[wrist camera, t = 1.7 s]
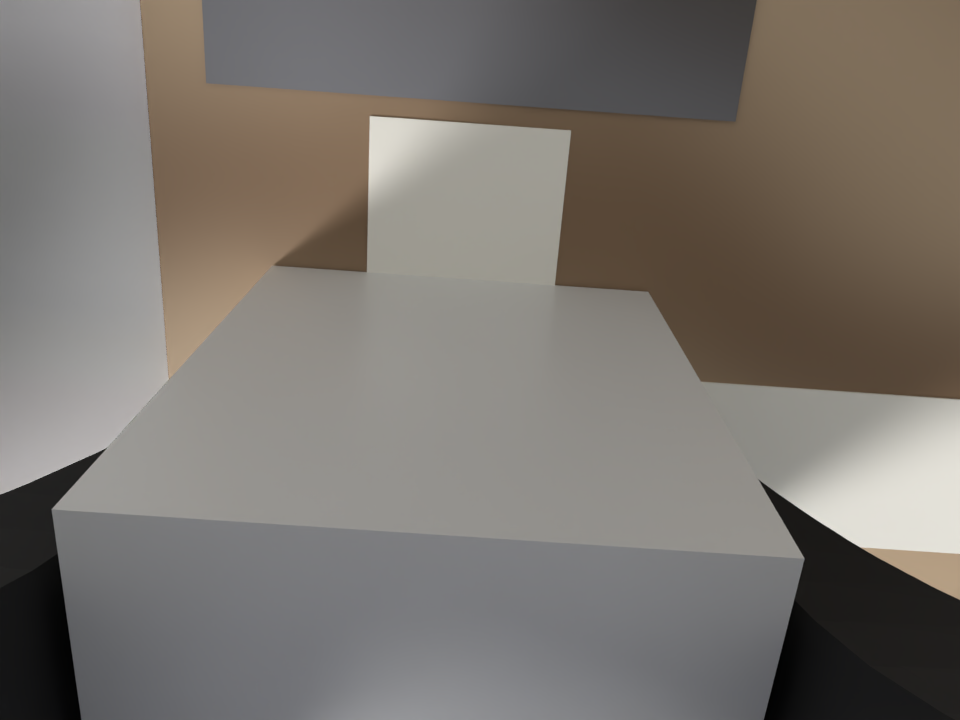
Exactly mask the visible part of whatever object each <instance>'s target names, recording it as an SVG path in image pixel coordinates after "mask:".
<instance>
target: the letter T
mask: <svg viewBox="0 0 960 720" xmlns="http://www.w3.org/2000/svg"><path fill="white" fill-rule="evenodd" d="M570 137H571V130H559V129H545V128H531V127H517V126H503V125H489V124H476V123H462V122H448V121H434V120H420V119H406V118H393V117H379V116H370V130H369V183H368V236H367V272H372V273H386V274H400V275H415V276H429V277H443V278H458V279H472V280H486V281H501V282H515V283H530V284H544V285H555V279H556V269H557V260H558V250H559V241H560V231H561V222H562V213H563V203H564V194H565V184H566V175H567V165H568V156H569V147H570ZM701 383H702V384H703V386H704V388H705V389H706V391H707V393H708V395H709V396H710V398H711V400H712V401H713V403H714V405H715V406H716V408H717V410H718V412H719V413H720V415H721V417H722V418H723V420H724V422H725V424H726V425H727V427H728V429H729V430H730V432H731V434H732V436H733V437H734V439H735V441H736V442H737V444H738V446H739V447H740V449H741V451H742V453H743V454H744V456H745V458H746V459H747V461H748V463H749V465H750V466H751V468H752V470H753V471H754V473H755V475H756V477H757V478H758V480H760V481H761V482H762V483H764V484H765V485H767V486H768V487H769V488H771V489H772V490H774V491H775V492H776V493H778V494H779V495H781V496H782V497H783V498H785V499H786V500H788V501H789V502H791V503H792V504H793V505H795V506H796V507H798V508H799V509H801V510H802V511H804V512H805V513H807V514H808V515H810V516H811V517H813V518H814V519H816V520H817V521H819V522H820V523H822V524H824V525H825V526H827V527H828V528H830V529H831V530H833V531H835V532H836V533H838V534H839V535H841V536H842V537H844V538H846V539H847V540H849V541H850V542H852V543H854V544H855V545H857V546H859V547H862V548H878V549H893V550H908V551H923V552H939V553H954V554H960V399H949V398H934V397H919V396H905V395H890V394H876V393H861V392H846V391H832V390H817V389H802V388H788V387H773V386H758V385H744V384H729V383H714V382H701Z"/></svg>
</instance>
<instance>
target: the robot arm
mask: <svg viewBox="0 0 960 720" xmlns="http://www.w3.org/2000/svg"><path fill="white" fill-rule="evenodd" d="M106 449H107V448H106ZM106 449H104V450H102V451H100V452H98V453H96V454H94V455H91V456H89V457H87V458H85V459H82V460H80V461H78V462H76V463H73V464H71V465H69V466H67V467H64V468H62V469H60V470H58V471H56V472H53V473H51V474H49V475H47V476H44V477H42V478H40V479H38V480H35V481H33V482H31V483H29V484H26V485H24V486H21V487H19V488H16V489H14V490H11V491H9V492H6V493H4V494H1V495H0V720H81V713H80V706H79V699H78V692H77V685H76V678H75V671H74V664H73V657H72V650H71V643H70V636H69V629H68V622H67V615H66V608H65V601H64V594H63V586H62V579H61V572H60V565H59V558H58V551H57V544H56V537H55V530H54V523H53V516H52V508H53V507H54V506H55V505H56V504H57V503H58V502H59V501H60V500H61V498H62V497H63V496H64V495H65V494H66V493H67V492H68V491H69V490H70V489H71V487H72V486H73V485H74V484H75V483H76V482H77V481H78V480H79V479H80V477H81V476H82V475H83V474H84V473H85V472H86V471H87V470H88V469H89V468H90V466H91V465H92V464H93V463H94V462H95V461H96V460H97V459H98V458H99V457H100V455H101V454H102V453H103V452H104V451H105V450H106ZM759 482H760V483H761V485H762V487H763V488H764V490H765V492H766V494H767V495H768V497H769V499H770V500H771V502H772V504H773V506H774V507H775V509H776V511H777V512H778V514H779V516H780V518H781V519H782V521H783V523H784V524H785V526H786V528H787V529H788V531H789V533H790V535H791V536H792V538H793V540H794V541H795V543H796V545H797V547H798V548H799V550H800V552H801V553H802V555H803V557H804V563H803V567H802V571H801V575H800V579H799V583H798V587H797V591H796V595H795V599H794V603H793V606H792V610H791V614H790V618H789V622H788V626H787V630H786V634H785V638H784V642H783V646H782V650H781V654H780V658H779V662H778V666H777V669H776V673H775V677H774V681H773V685H772V689H771V693H770V697H769V701H768V705H767V709H766V713H765V717H764V720H960V600H959V599H957V598H955V597H953V596H951V595H949V594H946V593H944V592H942V591H940V590H938V589H936V588H934V587H932V586H930V585H928V584H926V583H924V582H923V581H921V580H919V579H917V578H915V577H913V576H911V575H909V574H907V573H906V572H904V571H902V570H900V569H898V568H896V567H894V566H892V565H890V564H889V563H887V562H885V561H883V560H881V559H879V558H878V557H876V556H874V555H872V554H871V553H869V552H867V551H865V550H864V549H862V548H860V547H859V546H857V545H855V544H854V543H852V542H850V541H849V540H847V539H846V538H844V537H842V536H841V535H839V534H838V533H836V532H835V531H833V530H831V529H830V528H828V527H827V526H825V525H824V524H822V523H820V522H819V521H817V520H816V519H814V518H813V517H811V516H810V515H808V514H807V513H805V512H804V511H802V510H801V509H799V508H798V507H796V506H795V505H793V504H792V503H791V502H789V501H788V500H786V499H785V498H783V497H782V496H781V495H779V494H778V493H776V492H775V491H774V490H772V489H771V488H769V487H768V486H767V485H765V484H764V483H762V482H761V481H760V480H759Z"/></svg>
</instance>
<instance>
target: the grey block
mask: <svg viewBox="0 0 960 720" xmlns="http://www.w3.org/2000/svg"><path fill="white" fill-rule="evenodd" d="M52 516H53V523H54V530H55V537H56V544H57V551H58V558H59V565H60V572H61V579H62V586H63V594H64V601H65V608H66V615H67V622H68V629H69V636H70V643H71V650H72V657H73V664H74V671H75V678H76V685H77V692H78V699H79V706H80V713H81V720H764V717H765V713H766V709H767V705H768V701H769V697H770V693H771V689H772V685H773V681H774V677H775V673H776V669H777V666H778V662H779V658H780V654H781V650H782V646H783V642H784V638H785V634H786V630H787V626H788V622H789V618H790V614H791V610H792V606H793V603H794V599H795V595H796V591H797V587H798V583H799V579H800V575H801V571H802V567H803V563H804V557H803V555H802V553H801V552H800V550H799V548H798V547H797V545H796V543H795V541H794V540H793V538H792V536H791V535H790V533H789V531H788V529H787V528H786V526H785V524H784V523H783V521H782V519H781V518H780V516H779V514H778V512H777V511H776V509H775V507H774V506H773V504H772V502H771V500H770V499H769V497H768V495H767V494H766V492H765V490H764V488H763V487H762V485H761V483H760V482H759V480H758V478H757V477H756V475H755V473H754V471H753V470H752V468H751V466H750V465H749V463H748V461H747V459H746V458H745V456H744V454H743V453H742V451H741V449H740V447H739V446H738V444H737V442H736V441H735V439H734V437H733V436H732V434H731V432H730V430H729V429H728V427H727V425H726V424H725V422H724V420H723V418H722V417H721V415H720V413H719V412H718V410H717V408H716V406H715V405H714V403H713V401H712V400H711V398H710V396H709V395H708V393H707V391H706V389H705V388H704V386H703V384H702V383H701V381H700V379H699V377H698V376H697V374H696V372H695V371H694V369H693V367H692V366H691V364H690V362H689V360H688V359H687V357H686V355H685V354H684V352H683V350H682V348H681V347H680V345H679V343H678V342H677V340H676V338H675V336H674V335H673V333H672V331H671V330H670V328H669V326H668V325H667V323H666V321H665V319H664V318H663V316H662V314H661V313H660V311H659V309H658V307H657V306H656V304H655V302H654V301H653V299H652V297H651V295H650V294H649V292H644V291H630V290H616V289H601V288H587V287H573V286H558V285H544V284H530V283H515V282H501V281H486V280H472V279H458V278H443V277H429V276H415V275H400V274H386V273H372V272H357V271H343V270H329V269H314V268H300V267H286V266H272V267H271V268H270V269H269V270H268V271H267V272H266V273H265V274H264V275H263V277H262V278H261V279H260V280H259V281H258V282H257V283H256V284H255V285H254V286H253V288H252V289H251V290H250V291H249V292H248V293H247V294H246V295H245V296H244V297H243V299H242V300H241V301H240V302H239V303H238V304H237V305H236V306H235V307H234V309H233V310H232V311H231V312H230V313H229V314H228V315H227V316H226V317H225V318H224V320H223V321H222V322H221V323H220V324H219V325H218V326H217V327H216V328H215V330H214V331H213V332H212V333H211V334H210V335H209V336H208V337H207V338H206V339H205V341H204V342H203V343H202V344H201V345H200V346H199V347H198V348H197V349H196V351H195V352H194V353H193V354H192V355H191V356H190V357H189V358H188V359H187V360H186V362H185V363H184V364H183V365H182V366H181V367H180V368H179V369H178V370H177V371H176V373H175V374H174V375H173V376H172V377H171V378H170V379H169V380H168V381H167V383H166V384H165V385H164V386H163V387H162V388H161V389H160V390H159V391H158V392H157V394H156V395H155V396H154V397H153V398H152V399H151V400H150V401H149V402H148V404H147V405H146V406H145V407H144V408H143V409H142V410H141V411H140V412H139V413H138V415H137V416H136V417H135V418H134V419H133V420H132V421H131V422H130V423H129V424H128V426H127V427H126V428H125V429H124V430H123V431H122V432H121V433H120V434H119V436H118V437H117V438H116V439H115V440H114V441H113V442H112V443H111V444H110V445H109V447H108V448H107V449H106V450H105V451H104V452H103V453H102V454H101V455H100V457H99V458H98V459H97V460H96V461H95V462H94V463H93V464H92V465H91V466H90V468H89V469H88V470H87V471H86V472H85V473H84V474H83V475H82V476H81V477H80V479H79V480H78V481H77V482H76V483H75V484H74V485H73V486H72V487H71V489H70V490H69V491H68V492H67V493H66V494H65V495H64V496H63V497H62V498H61V500H60V501H59V502H58V503H57V504H56V505H55V506H54V507H53V508H52Z"/></svg>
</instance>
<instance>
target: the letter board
mask: <svg viewBox="0 0 960 720" xmlns="http://www.w3.org/2000/svg"><path fill="white" fill-rule="evenodd" d="M140 7H141V20H142V33H143V46H144V59H145V72H146V86H147V99H148V112H149V125H150V138H151V151H152V164H153V178H154V191H155V204H156V217H157V230H158V243H159V256H160V270H161V283H162V296H163V309H164V322H165V335H166V348H167V362H168V375H169V379H170V378H171V377H172V376H173V375H174V374H175V373H176V371H177V370H178V369H179V368H180V367H181V366H182V365H183V364H184V363H185V362H186V360H187V359H188V358H189V357H190V356H191V355H192V354H193V353H194V352H195V351H196V349H197V348H198V347H199V346H200V345H201V344H202V343H203V342H204V341H205V339H206V338H207V337H208V336H209V335H210V334H211V333H212V332H213V331H214V330H215V328H216V327H217V326H218V325H219V324H220V323H221V322H222V321H223V320H224V318H225V317H226V316H227V315H228V314H229V313H230V312H231V311H232V310H233V309H234V307H235V306H236V305H237V304H238V303H239V302H240V301H241V300H242V299H243V297H244V296H245V295H246V294H247V293H248V292H249V291H250V290H251V289H252V288H253V286H254V285H255V284H256V283H257V282H258V281H259V280H260V279H261V278H262V277H263V275H264V274H265V273H266V272H267V271H268V270H269V269H270V268H271V267H272V266H286V267H300V268H314V269H329V270H343V271H357V272H367V236H368V183H369V130H370V116H379V117H393V118H406V119H420V120H434V121H448V122H462V123H476V124H489V125H503V126H517V127H531V128H545V129H559V130H571V137H570V147H569V156H568V165H567V175H566V184H565V194H564V203H563V213H562V222H561V231H560V241H559V250H558V260H557V269H556V279H555V285H558V286H573V287H587V288H601V289H616V290H630V291H644V292H649V294H650V295H651V297H652V299H653V301H654V302H655V304H656V306H657V307H658V309H659V311H660V313H661V314H662V316H663V318H664V319H665V321H666V323H667V325H668V326H669V328H670V330H671V331H672V333H673V335H674V336H675V338H676V340H677V342H678V343H679V345H680V347H681V348H682V350H683V352H684V354H685V355H686V357H687V359H688V360H689V362H690V364H691V366H692V367H693V369H694V371H695V372H696V374H697V376H698V377H699V379H700V381H701V382H714V383H729V384H744V385H758V386H773V387H788V388H802V389H817V390H832V391H846V392H861V393H876V394H890V395H905V396H919V397H934V398H949V399H960V0H140ZM860 548H862V547H860ZM862 549H864V550H865V551H867V552H869V553H871V554H872V555H874V556H876V557H878V558H879V559H881V560H883V561H885V562H887V563H889V564H890V565H892V566H894V567H896V568H898V569H900V570H902V571H904V572H906V573H907V574H909V575H911V576H913V577H915V578H917V579H919V580H921V581H923V582H924V583H926V584H928V585H930V586H932V587H934V588H936V589H938V590H940V591H942V592H944V593H946V594H949V595H951V596H953V597H955V598H957V599H959V600H960V554H954V553H939V552H923V551H908V550H893V549H878V548H862Z"/></svg>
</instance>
